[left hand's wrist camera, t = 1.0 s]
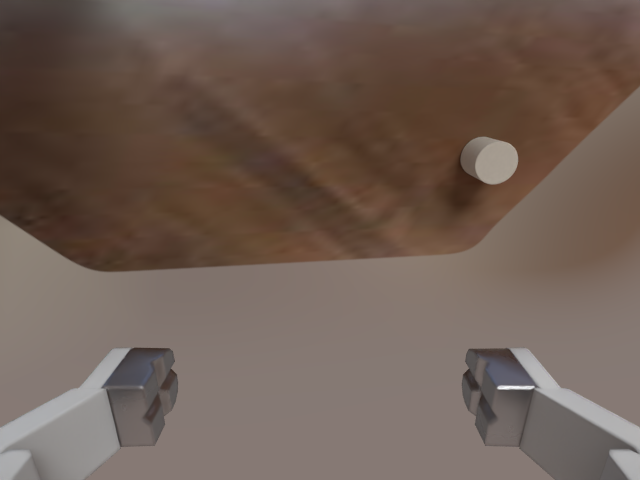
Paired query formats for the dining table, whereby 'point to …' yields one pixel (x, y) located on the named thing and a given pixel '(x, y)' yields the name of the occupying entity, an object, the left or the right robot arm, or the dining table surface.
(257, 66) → the dining table surface
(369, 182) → the dining table surface
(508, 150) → the canister
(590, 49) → the dining table surface
